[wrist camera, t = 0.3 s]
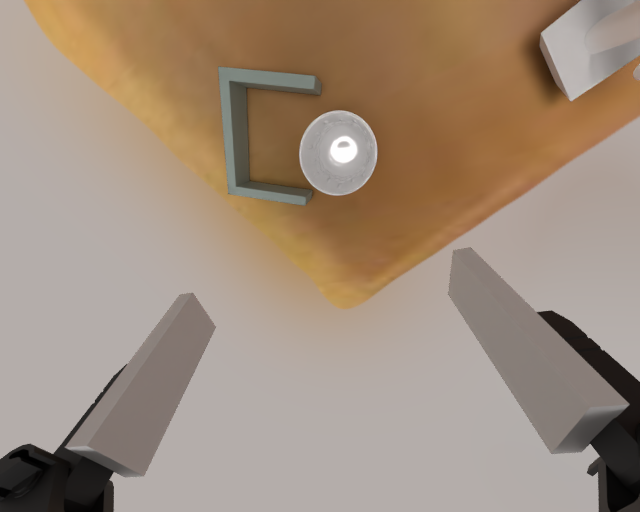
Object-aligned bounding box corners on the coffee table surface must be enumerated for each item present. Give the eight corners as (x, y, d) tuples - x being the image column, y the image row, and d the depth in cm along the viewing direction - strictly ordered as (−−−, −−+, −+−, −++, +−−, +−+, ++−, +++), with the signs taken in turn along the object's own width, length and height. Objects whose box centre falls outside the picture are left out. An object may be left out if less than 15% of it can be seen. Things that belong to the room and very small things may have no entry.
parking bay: (237, 75, 31) (218, 66, 27) (321, 83, 29) (315, 75, 25) (242, 187, 37) (228, 194, 33) (311, 197, 36) (305, 205, 32)
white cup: (317, 179, 35) (301, 195, 26) (315, 118, 31) (296, 112, 23) (371, 179, 34) (374, 196, 25) (376, 115, 30) (380, 108, 21)
